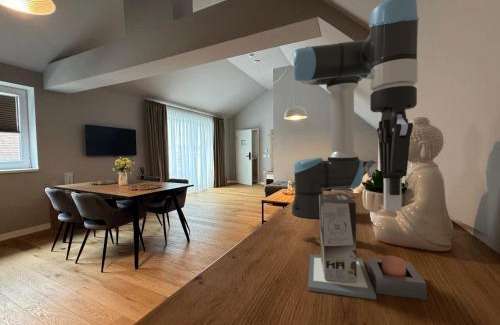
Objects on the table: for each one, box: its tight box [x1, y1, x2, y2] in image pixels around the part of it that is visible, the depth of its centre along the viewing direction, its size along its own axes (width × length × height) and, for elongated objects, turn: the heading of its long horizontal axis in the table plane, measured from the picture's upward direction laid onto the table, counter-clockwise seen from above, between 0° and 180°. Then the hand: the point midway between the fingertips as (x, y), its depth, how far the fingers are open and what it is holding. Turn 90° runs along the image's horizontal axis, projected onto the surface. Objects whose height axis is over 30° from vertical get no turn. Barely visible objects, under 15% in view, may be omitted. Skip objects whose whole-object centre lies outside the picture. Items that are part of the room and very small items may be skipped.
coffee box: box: [319, 193, 357, 283], centre depth 49 cm, size 9×6×16 cm
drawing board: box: [307, 253, 377, 301], centre depth 49 cm, size 14×12×1 cm
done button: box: [381, 255, 406, 277], centre depth 45 cm, size 4×4×4 cm
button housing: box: [366, 257, 428, 300], centre depth 45 cm, size 8×8×3 cm
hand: (392, 209), depth 45 cm, fingers closed
